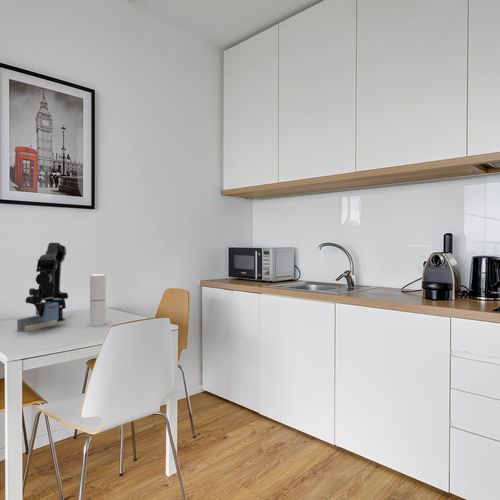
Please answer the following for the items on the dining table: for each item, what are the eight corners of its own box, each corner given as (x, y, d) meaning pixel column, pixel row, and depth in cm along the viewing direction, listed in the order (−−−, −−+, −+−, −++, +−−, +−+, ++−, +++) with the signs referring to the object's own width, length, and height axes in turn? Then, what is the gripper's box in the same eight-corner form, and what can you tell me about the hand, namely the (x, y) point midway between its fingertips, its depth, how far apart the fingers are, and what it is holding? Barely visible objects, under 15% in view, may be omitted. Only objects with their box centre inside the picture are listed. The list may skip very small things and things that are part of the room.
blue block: (48, 317, 191) (48, 301, 191) (59, 319, 188) (59, 302, 188) (36, 320, 185) (35, 303, 185) (47, 322, 182) (47, 304, 182)
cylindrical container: (91, 326, 191) (91, 275, 190) (88, 324, 197) (88, 274, 196) (107, 325, 195) (106, 275, 194) (103, 322, 201) (103, 274, 200)
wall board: (55, 322, 199) (55, 312, 199) (60, 323, 197) (60, 312, 197) (17, 331, 181) (17, 319, 181) (22, 332, 179) (22, 320, 179)
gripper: (53, 280, 198) (53, 310, 198) (17, 284, 181) (18, 317, 182) (68, 281, 193) (68, 312, 194) (33, 285, 176) (34, 320, 177)
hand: (47, 315), depth 187 cm, fingers closed on blue block, 6 cm apart
